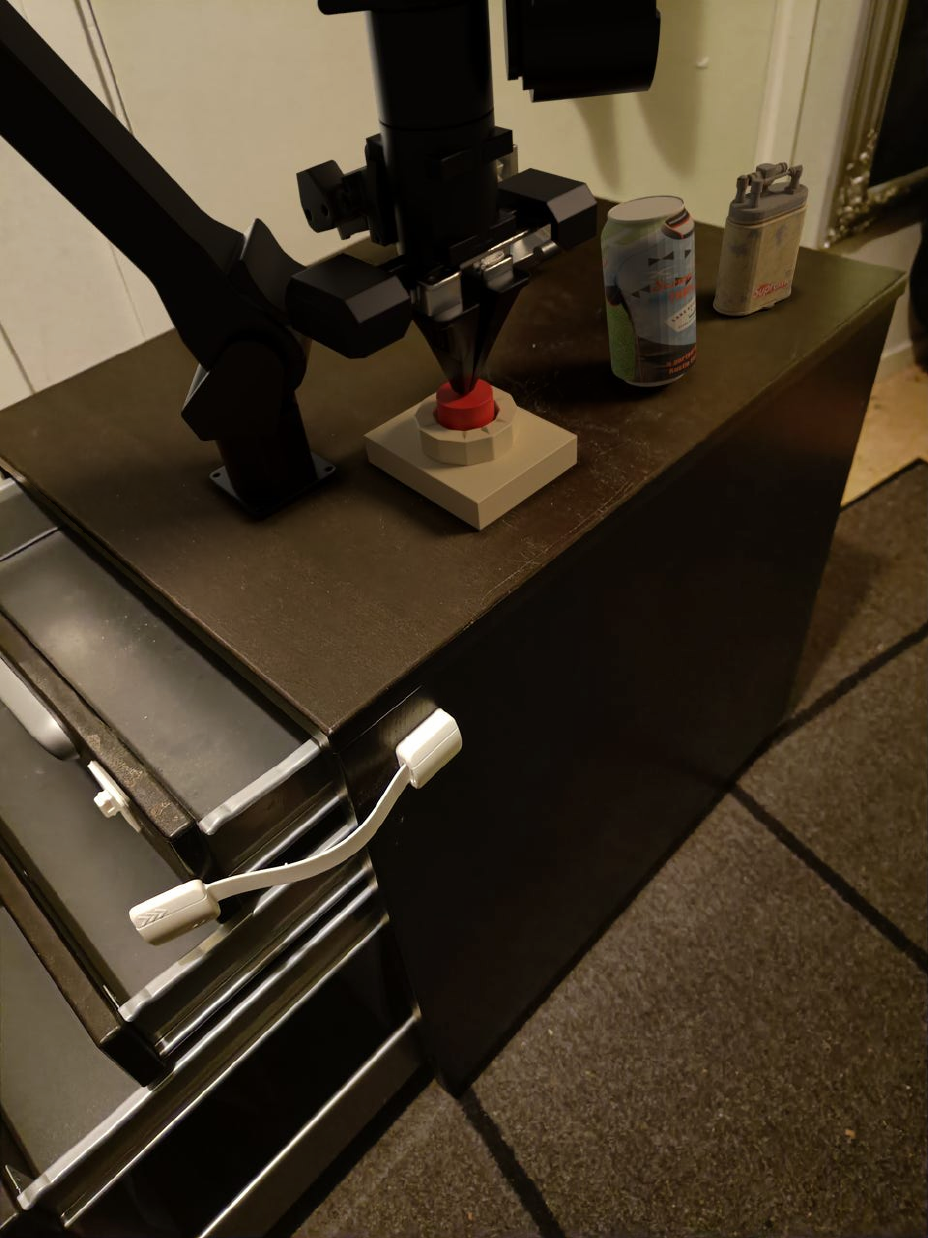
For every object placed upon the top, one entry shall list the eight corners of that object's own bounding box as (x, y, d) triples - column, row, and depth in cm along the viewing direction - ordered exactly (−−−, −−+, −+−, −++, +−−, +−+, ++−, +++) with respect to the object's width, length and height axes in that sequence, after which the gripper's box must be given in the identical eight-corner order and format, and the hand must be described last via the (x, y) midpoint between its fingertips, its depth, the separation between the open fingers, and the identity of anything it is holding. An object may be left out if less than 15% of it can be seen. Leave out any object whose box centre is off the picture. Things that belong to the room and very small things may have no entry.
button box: (577, 463, 55) (577, 411, 52) (479, 531, 51) (475, 479, 48) (463, 404, 61) (458, 355, 58) (368, 461, 57) (358, 411, 54)
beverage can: (669, 407, 59) (687, 233, 50) (579, 379, 62) (582, 213, 53) (709, 365, 62) (733, 195, 53) (622, 342, 65) (631, 178, 56)
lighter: (767, 279, 70) (791, 149, 63) (802, 295, 68) (831, 162, 60) (703, 306, 68) (720, 175, 61) (737, 323, 66) (759, 189, 58)
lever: (577, 249, 74) (586, 226, 72) (539, 269, 72) (547, 247, 69) (487, 164, 76) (493, 139, 74) (447, 181, 74) (452, 157, 72)
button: (506, 414, 53) (504, 390, 52) (465, 439, 52) (463, 415, 51) (467, 394, 55) (465, 371, 54) (427, 418, 54) (424, 395, 52)
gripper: (461, 44, 49) (480, 298, 60) (188, 138, 41) (269, 410, 53) (608, 69, 43) (598, 346, 54) (321, 186, 35) (379, 481, 47)
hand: (463, 391), depth 52 cm, fingers closed
